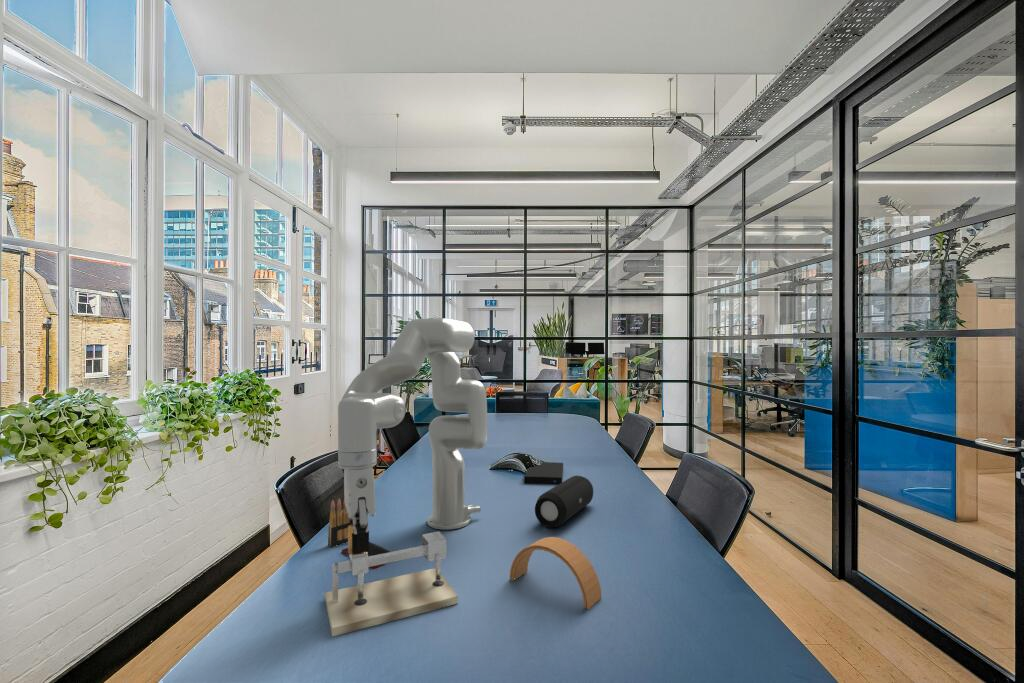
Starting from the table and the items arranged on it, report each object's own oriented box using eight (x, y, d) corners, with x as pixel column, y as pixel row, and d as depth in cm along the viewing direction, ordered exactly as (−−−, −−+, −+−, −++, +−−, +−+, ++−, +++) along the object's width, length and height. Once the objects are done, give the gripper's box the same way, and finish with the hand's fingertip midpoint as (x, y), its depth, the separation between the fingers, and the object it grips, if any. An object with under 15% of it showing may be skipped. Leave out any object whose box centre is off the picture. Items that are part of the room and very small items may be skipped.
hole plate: (436, 574, 109) (436, 567, 109) (457, 603, 97) (457, 595, 97) (325, 599, 98) (325, 592, 98) (332, 636, 86) (332, 627, 86)
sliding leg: (367, 586, 100) (366, 521, 100) (371, 598, 95) (371, 529, 95) (347, 591, 98) (346, 524, 98) (350, 603, 93) (350, 533, 93)
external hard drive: (563, 469, 202) (563, 462, 202) (561, 485, 179) (561, 477, 179) (529, 468, 204) (529, 461, 204) (524, 484, 181) (524, 476, 181)
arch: (525, 570, 111) (524, 527, 111) (601, 598, 98) (601, 550, 98) (509, 580, 106) (509, 535, 107) (587, 610, 94) (586, 560, 94)
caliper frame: (439, 571, 107) (439, 531, 107) (448, 582, 102) (447, 540, 102) (331, 595, 97) (330, 551, 97) (334, 610, 92) (334, 563, 92)
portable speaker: (563, 533, 133) (562, 497, 133) (531, 526, 138) (531, 492, 138) (596, 506, 154) (595, 475, 155) (568, 501, 160) (567, 471, 160)
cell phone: (372, 571, 112) (372, 567, 112) (340, 553, 121) (340, 550, 121) (400, 559, 118) (400, 555, 118) (366, 544, 127) (366, 540, 127)
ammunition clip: (331, 547, 124) (330, 501, 124) (327, 545, 126) (327, 500, 126) (368, 535, 132) (368, 492, 132) (365, 534, 133) (365, 491, 133)
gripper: (384, 464, 91) (385, 559, 91) (369, 448, 107) (369, 529, 107) (343, 469, 88) (344, 568, 88) (333, 451, 103) (334, 535, 103)
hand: (358, 545), depth 97 cm, fingers open, 5 cm apart
